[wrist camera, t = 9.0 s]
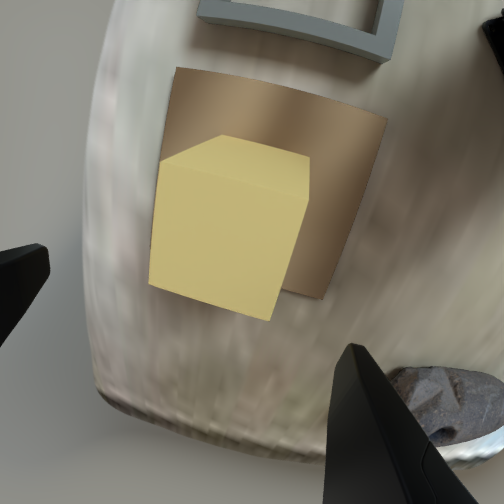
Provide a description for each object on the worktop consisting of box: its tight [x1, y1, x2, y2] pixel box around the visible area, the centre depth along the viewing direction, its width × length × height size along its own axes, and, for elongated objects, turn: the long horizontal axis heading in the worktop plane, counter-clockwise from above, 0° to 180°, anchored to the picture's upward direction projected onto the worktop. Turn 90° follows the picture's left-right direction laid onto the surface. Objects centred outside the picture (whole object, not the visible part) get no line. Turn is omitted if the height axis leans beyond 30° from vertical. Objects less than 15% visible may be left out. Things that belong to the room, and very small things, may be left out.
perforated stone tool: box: [390, 366, 504, 447], centre depth 20 cm, size 15×5×7 cm, turn 82°
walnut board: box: [150, 67, 388, 300], centre depth 19 cm, size 12×12×1 cm
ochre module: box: [149, 135, 310, 321], centre depth 15 cm, size 5×5×8 cm
